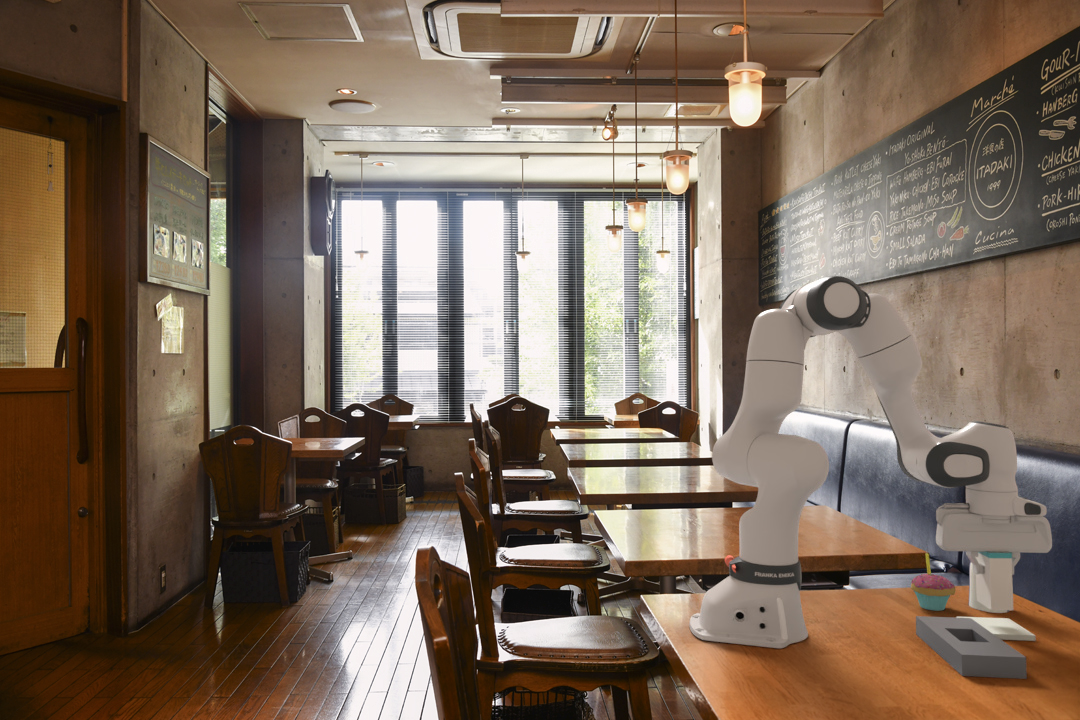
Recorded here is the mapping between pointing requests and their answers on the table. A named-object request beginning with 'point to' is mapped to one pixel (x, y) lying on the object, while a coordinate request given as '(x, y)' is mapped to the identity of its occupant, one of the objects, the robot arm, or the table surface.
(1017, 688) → the table surface
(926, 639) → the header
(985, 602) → the plug
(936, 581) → the cupcake
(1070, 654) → the table surface
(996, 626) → the mat
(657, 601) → the table surface
